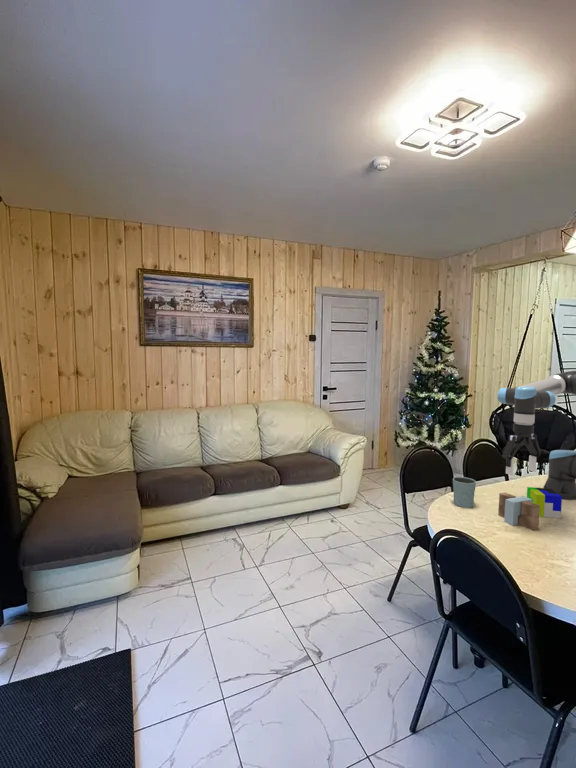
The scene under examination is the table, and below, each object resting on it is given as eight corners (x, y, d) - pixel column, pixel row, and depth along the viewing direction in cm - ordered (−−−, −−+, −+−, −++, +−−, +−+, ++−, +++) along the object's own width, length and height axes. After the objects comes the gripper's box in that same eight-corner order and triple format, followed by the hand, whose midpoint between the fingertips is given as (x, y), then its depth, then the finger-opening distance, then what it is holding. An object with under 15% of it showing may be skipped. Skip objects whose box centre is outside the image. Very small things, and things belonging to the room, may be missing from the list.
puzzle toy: (560, 518, 167) (562, 496, 166) (535, 516, 169) (536, 494, 168) (549, 509, 177) (551, 488, 176) (526, 507, 179) (527, 487, 178)
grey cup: (467, 510, 175) (468, 484, 174) (447, 503, 183) (448, 478, 182) (478, 505, 181) (480, 480, 180) (458, 498, 189) (459, 475, 188)
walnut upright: (498, 515, 170) (499, 493, 169) (503, 513, 171) (505, 492, 170) (532, 530, 155) (533, 506, 154) (538, 529, 156) (539, 505, 155)
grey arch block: (522, 518, 167) (523, 496, 166) (530, 521, 163) (532, 499, 162) (504, 521, 163) (505, 499, 162) (512, 525, 159) (513, 502, 158)
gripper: (535, 420, 167) (532, 467, 169) (494, 423, 159) (491, 472, 160) (552, 423, 160) (549, 472, 162) (510, 426, 152) (507, 478, 153)
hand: (520, 472), depth 161 cm, fingers open, 13 cm apart
